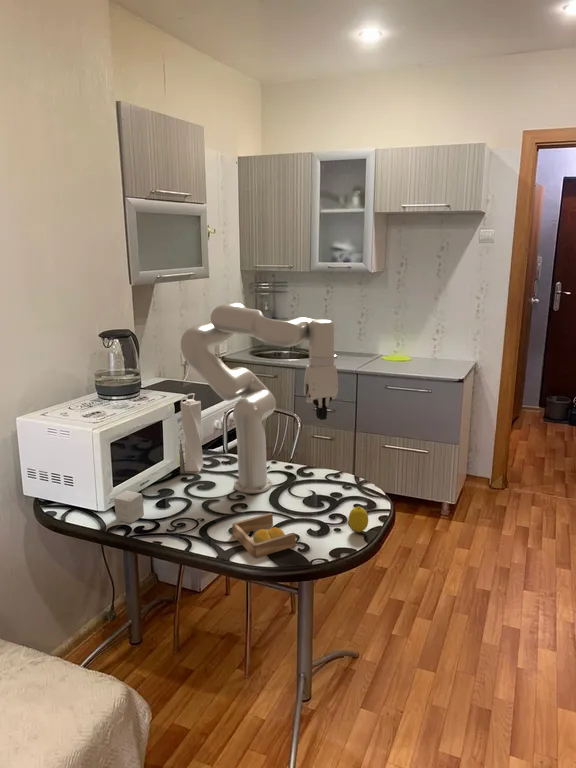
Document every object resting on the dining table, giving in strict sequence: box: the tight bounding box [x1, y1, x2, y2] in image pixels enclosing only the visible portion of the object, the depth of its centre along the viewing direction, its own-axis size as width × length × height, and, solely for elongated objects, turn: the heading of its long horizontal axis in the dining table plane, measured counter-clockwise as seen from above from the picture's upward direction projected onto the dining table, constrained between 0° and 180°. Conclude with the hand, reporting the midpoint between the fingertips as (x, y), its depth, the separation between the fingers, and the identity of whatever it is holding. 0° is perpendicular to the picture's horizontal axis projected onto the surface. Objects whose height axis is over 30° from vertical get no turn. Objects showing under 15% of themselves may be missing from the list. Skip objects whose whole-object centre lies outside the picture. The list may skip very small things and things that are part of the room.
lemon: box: [348, 506, 369, 534], centre depth 167 cm, size 6×6×8 cm
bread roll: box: [252, 526, 286, 543], centre depth 163 cm, size 8×9×4 cm
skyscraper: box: [178, 393, 204, 475], centre depth 212 cm, size 8×8×28 cm
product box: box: [113, 490, 145, 524], centre depth 178 cm, size 6×6×7 cm
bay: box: [231, 512, 297, 559], centre depth 164 cm, size 14×12×4 cm
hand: (321, 418), depth 183 cm, fingers closed
